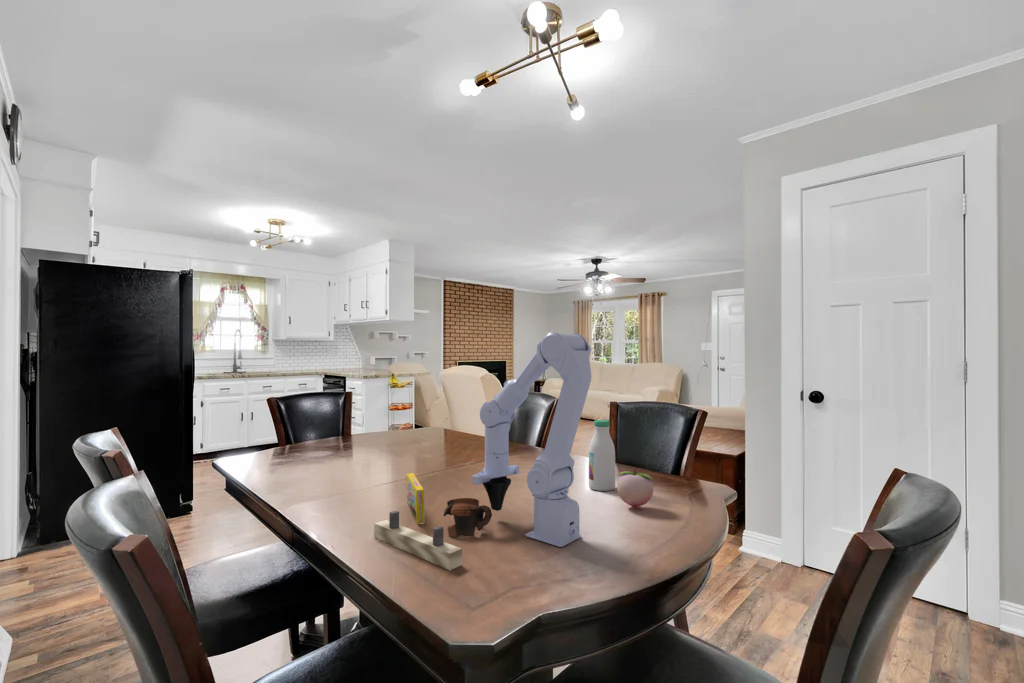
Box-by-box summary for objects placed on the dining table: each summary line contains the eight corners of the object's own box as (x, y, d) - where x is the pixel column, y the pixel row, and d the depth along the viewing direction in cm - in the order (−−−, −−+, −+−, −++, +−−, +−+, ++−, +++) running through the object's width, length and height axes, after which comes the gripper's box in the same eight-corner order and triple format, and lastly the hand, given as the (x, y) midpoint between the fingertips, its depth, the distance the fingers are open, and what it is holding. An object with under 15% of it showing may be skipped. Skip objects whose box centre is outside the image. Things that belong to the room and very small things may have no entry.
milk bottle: (619, 487, 143) (618, 420, 143) (609, 493, 136) (609, 422, 137) (594, 483, 147) (594, 418, 148) (584, 489, 140) (584, 420, 141)
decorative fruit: (615, 511, 120) (614, 471, 121) (617, 502, 128) (617, 464, 128) (654, 515, 118) (653, 474, 118) (654, 505, 125) (654, 467, 126)
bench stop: (461, 565, 89) (462, 532, 89) (449, 570, 87) (450, 536, 87) (386, 533, 104) (386, 505, 105) (374, 537, 102) (374, 509, 102)
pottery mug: (434, 539, 103) (435, 500, 107) (456, 545, 110) (456, 508, 115) (484, 531, 99) (483, 491, 104) (503, 538, 107) (501, 500, 111)
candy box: (405, 505, 125) (406, 473, 125) (413, 504, 126) (414, 472, 126) (415, 525, 110) (416, 489, 110) (425, 524, 111) (425, 488, 111)
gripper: (504, 445, 122) (504, 499, 122) (463, 454, 112) (462, 513, 111) (525, 449, 118) (525, 504, 117) (484, 458, 107) (484, 519, 106)
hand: (496, 509), depth 114 cm, fingers closed
